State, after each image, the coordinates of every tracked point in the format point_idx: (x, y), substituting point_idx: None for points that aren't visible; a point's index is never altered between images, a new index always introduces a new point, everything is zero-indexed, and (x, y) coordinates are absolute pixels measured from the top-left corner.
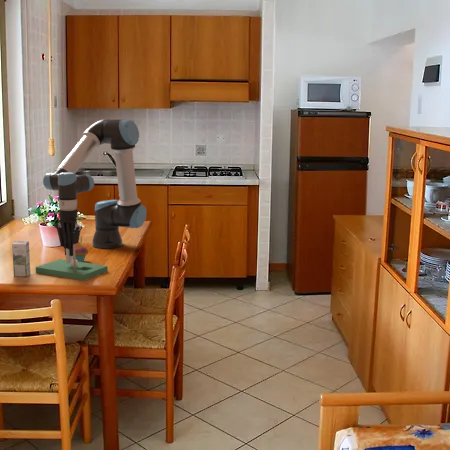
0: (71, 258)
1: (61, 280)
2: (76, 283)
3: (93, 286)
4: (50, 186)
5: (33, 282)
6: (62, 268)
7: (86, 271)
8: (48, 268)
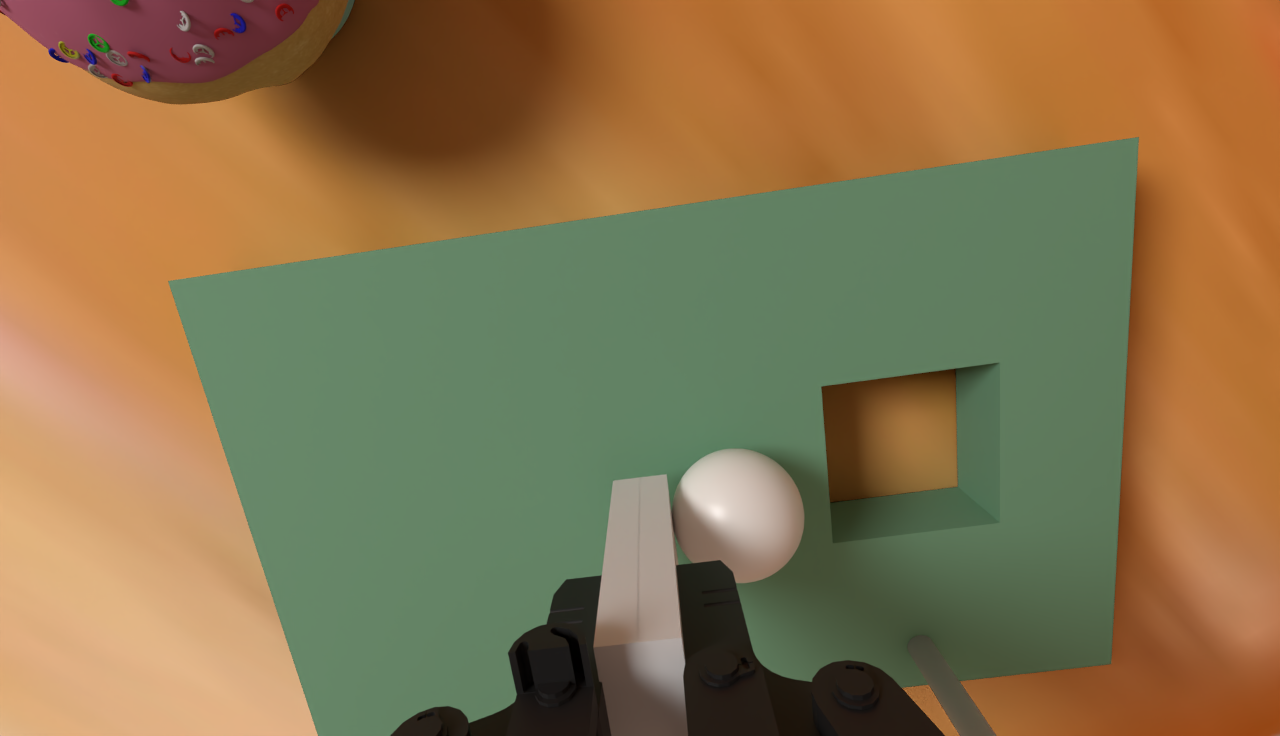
0: (674, 543)
1: None
2: (1041, 717)
3: (1276, 693)
4: None
5: None
6: None
7: (1031, 541)
8: None
